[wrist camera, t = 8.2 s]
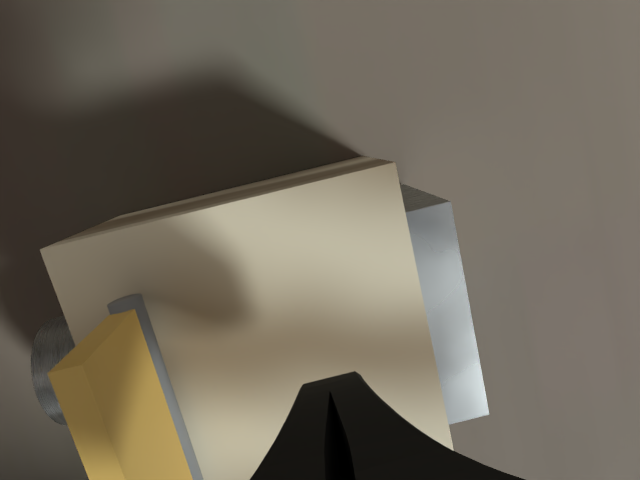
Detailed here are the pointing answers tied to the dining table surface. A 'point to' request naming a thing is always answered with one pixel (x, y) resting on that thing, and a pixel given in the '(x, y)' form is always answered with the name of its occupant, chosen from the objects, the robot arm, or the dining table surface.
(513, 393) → the dining table surface
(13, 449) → the dining table surface
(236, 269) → the block
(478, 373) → the silver metal piece
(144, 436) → the keeper flap
